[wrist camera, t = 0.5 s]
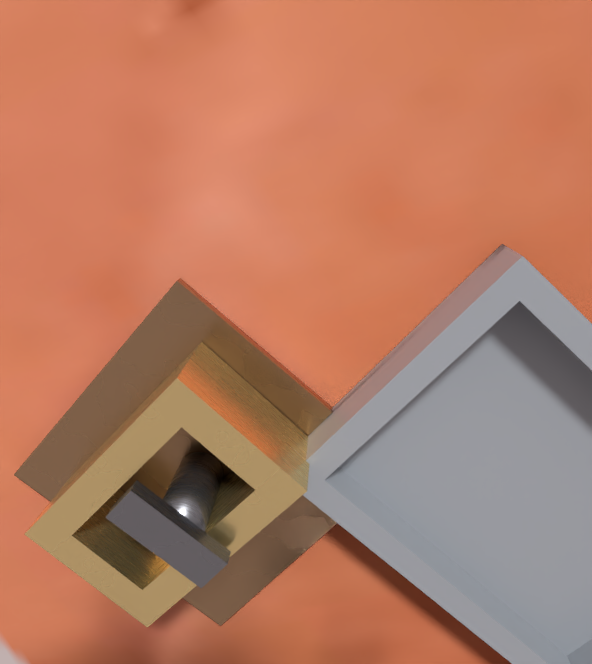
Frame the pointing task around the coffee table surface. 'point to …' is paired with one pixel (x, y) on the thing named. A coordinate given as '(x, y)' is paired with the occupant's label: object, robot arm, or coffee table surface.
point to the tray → (478, 462)
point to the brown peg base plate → (185, 455)
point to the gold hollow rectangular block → (140, 445)
